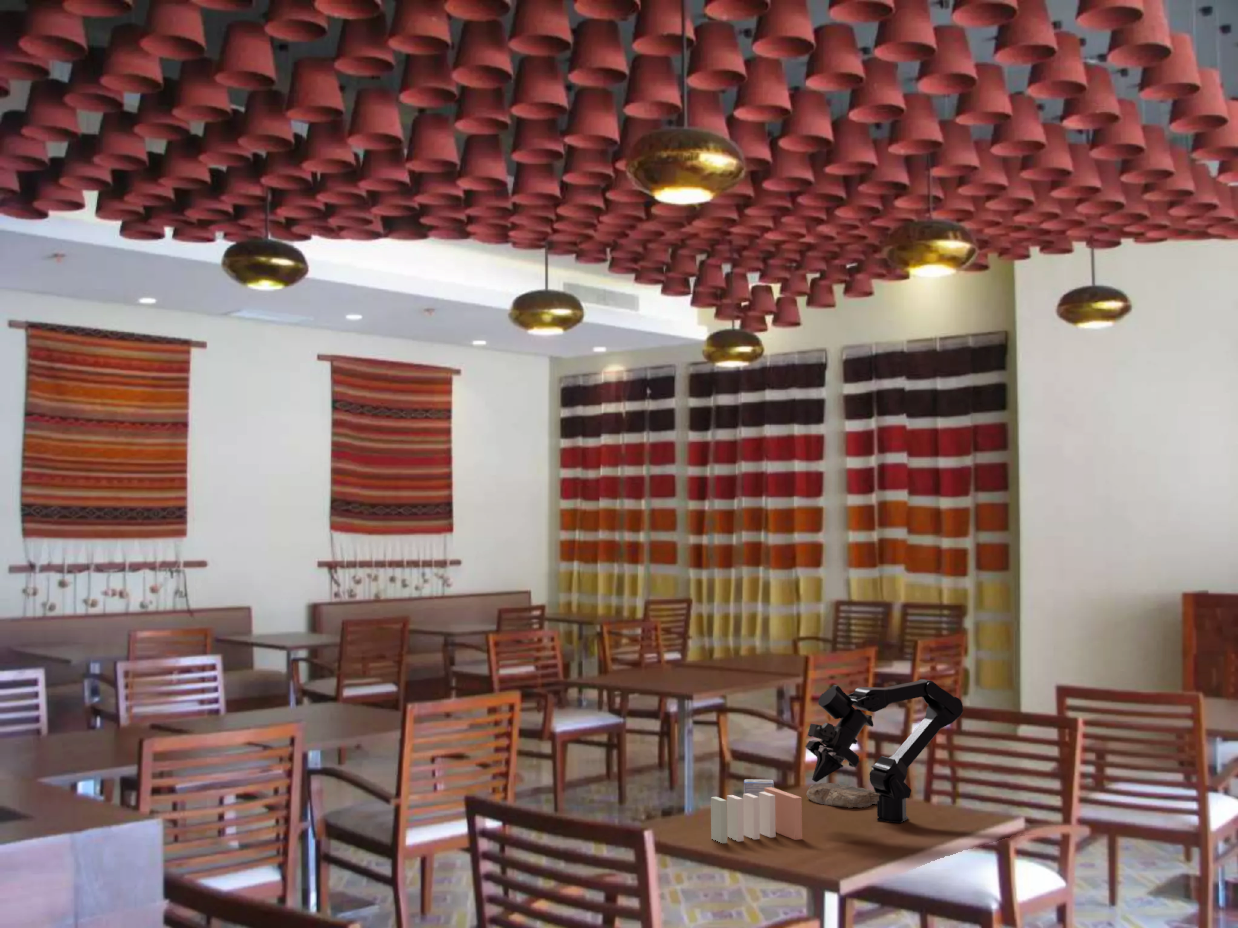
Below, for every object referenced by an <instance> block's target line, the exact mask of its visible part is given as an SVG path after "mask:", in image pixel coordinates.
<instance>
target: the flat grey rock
mask: <svg viewBox="0 0 1238 928" xmlns="http://www.w3.org/2000/svg"><path fill="white" fill-rule="evenodd" d="M879 795H880V794H877V793H875V790H872V789H867V788H863V787H856V786H854V785H848V784H847V785H845V784H839V783H833V782H819V783H815V784H811V785H810V786H809V788H808V790H807V791H806V796H807V798H808V799H809V800H810V801H811V802H813V803H815V804H821V805H823V804H824V805H823V806H831V807H842V808H845V807H848V808H847V809H852V808H853V807H858V808H857V809H863V808H862V807H864V808H868V806H869V807H870V806H873V805H872V804H875V805H877V801H878V800H879ZM853 809H854V808H853Z"/></svg>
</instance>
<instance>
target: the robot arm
mask: <svg viewBox="0 0 1238 928" xmlns="http://www.w3.org/2000/svg"><path fill="white" fill-rule="evenodd" d="M918 698H922V700H923V701H924V702H925V704H927V706H926V710H925V711H926V712H925V715H924V718H923V719H922V721H920V723H918V725H917V727H916V728H914V730H913V731H912V732H911V733H910V735H908V737H907V738H906V739H905V741H903V743H902V744H901V745H900V746H899V748H898V749H896V751H895V752H894V753H893V754H892V755H891V756H890V757H887V756H883V755H881V756H880V757H879V758H877V759H878V760H877V761H876V763H875V764H873V765H871V770H870V771H869V781H870V784H871V785H872V787H873V791H875V793H877V794H880V795H879V800H878V801H877V804H876V815H877V818H876V821H879V822H886V821H889V822H888V823H895V824H896V823H897V824H902V823H904V822H905V821H908V819H909V816H907V799H909V798H910V796H911V793H912V789H911V788H910V787H909V786H908V784H906V783H905V781H906V779H907V775H908V768H909V767H910V766H911V765H912V763H913V762H914V761H915V760H916V759H917V758H918V756H919V755H920V754H921V753H922V752H923V751H924V749H925V748H926V747H927V746H928V744H929V743H931V741H932V740H933V739H934V738H935V737H936V735H937V734H938V733H939V731H940V730H942V729H944V728H945V727H947V726H949V725H952V724H953V723H954V722H955V721H957V720H958V719H959V718H960V717H961V716H962V714H963V712H964V708H963V707H964V706H963V702H962V700H961V699H960V698H959V697H957V696H954V695H952V694H951V693H949V692H948V691H947V690H945V689H943V687H940V686H939V685H938V684H937V683H936V682H934V681H933V680H929V679H924V678H923V679H919V680H916V681H911V682H906V683H901V684H895V685H890V686H885V687H875V686H874V687H871V686H859V687H857V688H855V689H854V691H853V692H851V693H849V694H846V693H845V692H844V691H843V689H842V688H841V687H840V686H839V685H837V684H836V685H835V684H833V685H832V686H831V687H830V688H828V689H827V690H826V691H824V692H823V693H821V695H820V696H819V698H818V703H817V704H818V705H819V706H820V707H821V708H822V709H823V710H824V711H825V712H826V713H827V714H828V715H830V717H831V718H833V719H834V720H839V721H838V722H837V724H836V726H834V725H833V724H830V723H828V722H825V723H823V724H822V725H820V724H817V723H810V724H809V728H808V732H807V736H808V737H814V738H816V739H819V740H814V739H812V740H808V742H807V743H806V745H805V746H804V747H805V748H806V749H807V750H808V751H809V752H810V753H812V754H813V755H814V756H815V757H816V763H815V768H814V771H813V776H812V778H811V780H812V782H814V783H818V782H819V781H821V780H823V779H824V778H825V777H826V778H827V776H829V775H831V774H833V773H834V772H836V771H838V770H839V769H843V768H844V765H843V763H844V761H847V762H848V766H849V767H850V768H856V767H857V766H858V764H859V763H860V756H859V755H858V754H857V753H856V752H854V751H853V750H852V749H851V747H852V745H856V744H857V743H858V740H857V737H858V736H859V735H860V733H861V731H862V729H863V728H864V726H868V727H872V728H873V727H874V721H873V717H872V715H869V714H865V713H864V712H863V711H865V712H866V711H867V712H870V713H876V712H879V711H881V710H884V709H886V708H887V707H888V706H889V705H891V704H894V703H898V702H903V701H909V700H913V699H918ZM903 821H904V822H903Z"/></svg>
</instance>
